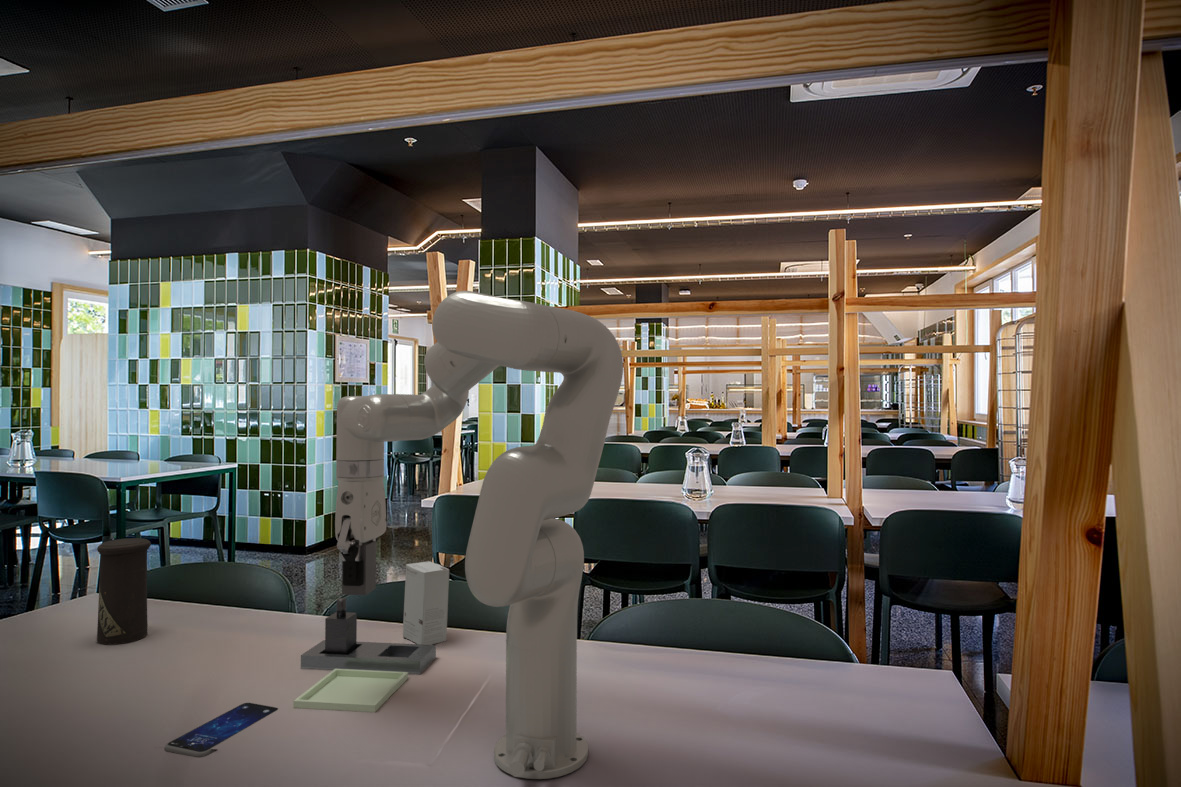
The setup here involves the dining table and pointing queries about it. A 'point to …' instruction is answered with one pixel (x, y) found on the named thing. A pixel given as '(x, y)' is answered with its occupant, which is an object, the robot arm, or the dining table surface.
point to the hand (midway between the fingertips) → (359, 580)
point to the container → (122, 591)
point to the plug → (364, 571)
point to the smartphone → (218, 730)
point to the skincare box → (426, 603)
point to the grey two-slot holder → (363, 649)
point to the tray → (351, 690)
